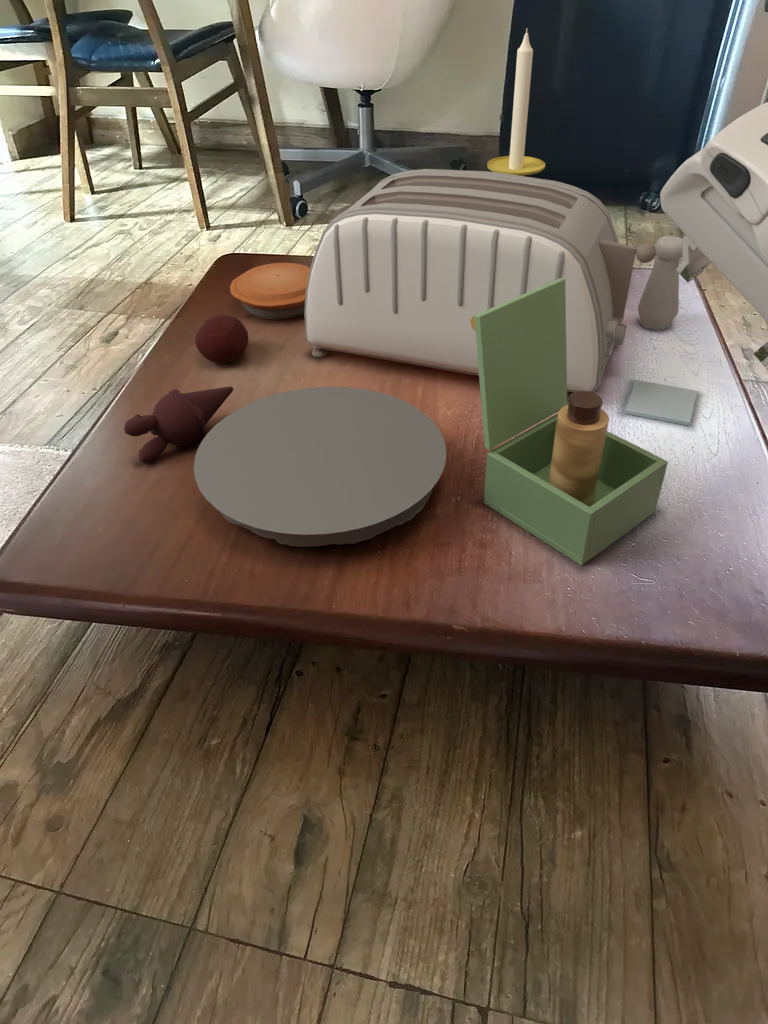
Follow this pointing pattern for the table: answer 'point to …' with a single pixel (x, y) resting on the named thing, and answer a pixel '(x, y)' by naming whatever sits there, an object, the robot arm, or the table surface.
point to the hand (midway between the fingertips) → (725, 314)
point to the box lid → (522, 361)
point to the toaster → (466, 269)
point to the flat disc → (321, 465)
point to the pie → (273, 290)
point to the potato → (222, 338)
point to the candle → (519, 121)
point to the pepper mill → (579, 446)
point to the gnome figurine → (176, 419)
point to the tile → (661, 402)
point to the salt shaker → (662, 286)
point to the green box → (558, 516)
